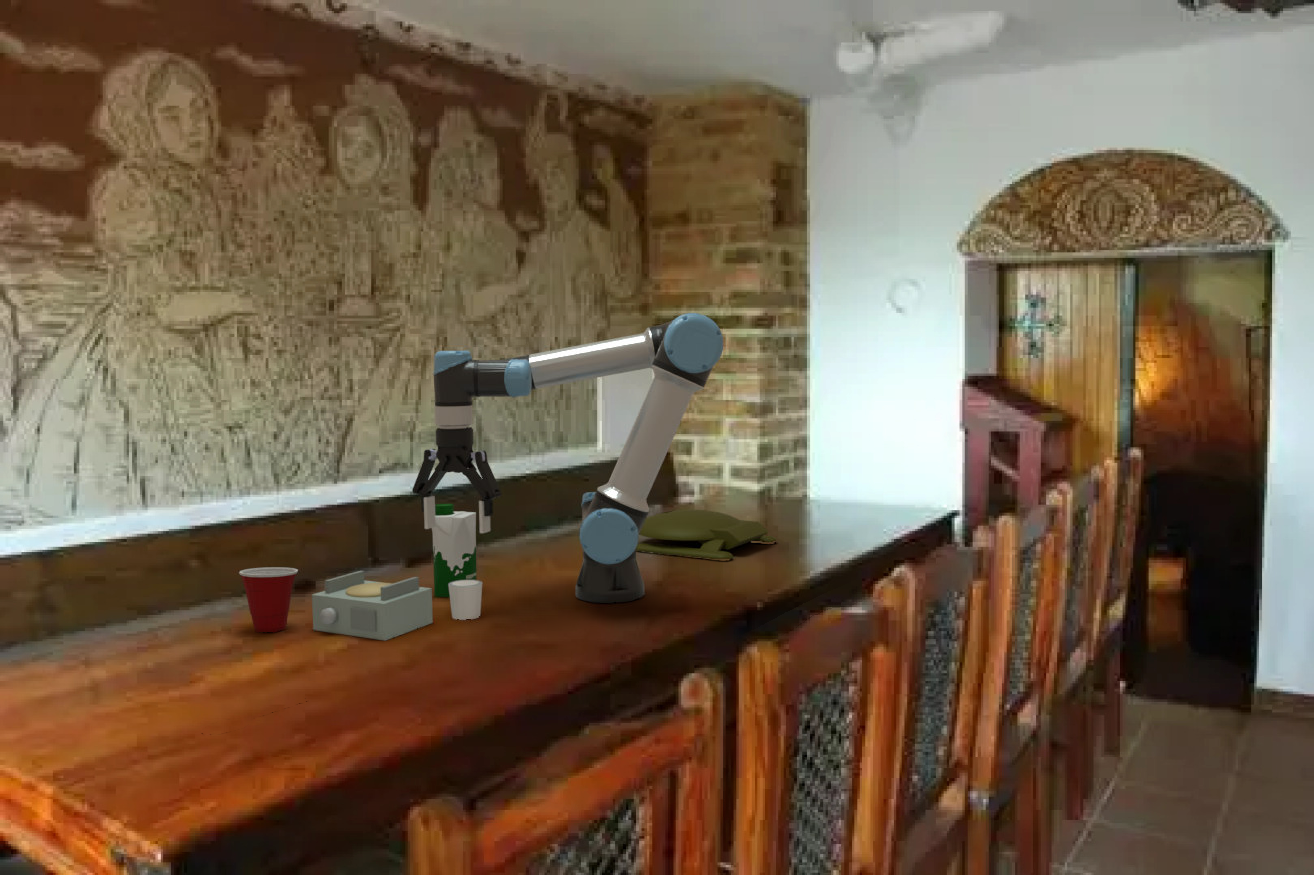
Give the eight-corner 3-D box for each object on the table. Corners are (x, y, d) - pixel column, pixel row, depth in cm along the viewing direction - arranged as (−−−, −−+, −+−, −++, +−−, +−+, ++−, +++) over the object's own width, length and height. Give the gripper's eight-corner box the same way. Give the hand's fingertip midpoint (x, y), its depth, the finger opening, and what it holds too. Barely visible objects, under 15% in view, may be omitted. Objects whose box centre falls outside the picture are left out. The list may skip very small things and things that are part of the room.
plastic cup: (312, 624, 212) (309, 564, 211) (276, 638, 202) (273, 576, 200) (267, 620, 215) (264, 561, 214) (229, 634, 205) (226, 572, 204)
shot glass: (450, 612, 220) (450, 579, 219) (484, 611, 221) (483, 578, 220) (447, 621, 213) (446, 586, 213) (481, 620, 214) (481, 586, 213)
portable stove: (432, 622, 212) (431, 575, 211) (379, 642, 198) (377, 592, 197) (363, 613, 220) (361, 568, 219) (307, 631, 206) (305, 583, 205)
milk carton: (444, 588, 242) (442, 501, 240) (482, 590, 240) (480, 502, 238) (428, 597, 233) (426, 507, 231) (467, 599, 231) (465, 508, 230)
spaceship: (780, 544, 293) (780, 509, 293) (727, 564, 268) (727, 525, 267) (671, 533, 312) (671, 500, 311) (612, 551, 286) (612, 515, 285)
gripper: (516, 426, 214) (519, 530, 216) (416, 424, 224) (419, 523, 226) (495, 429, 207) (498, 537, 209) (393, 426, 218) (396, 529, 220)
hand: (457, 530), depth 218 cm, fingers open, 13 cm apart
